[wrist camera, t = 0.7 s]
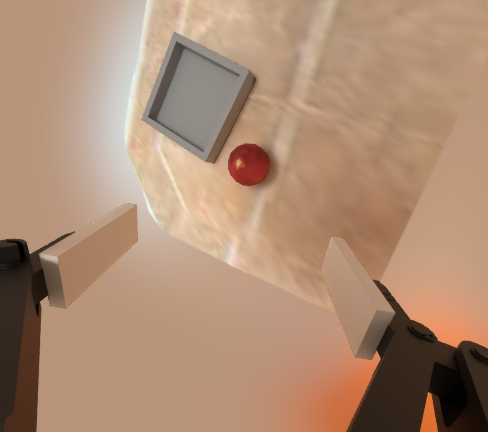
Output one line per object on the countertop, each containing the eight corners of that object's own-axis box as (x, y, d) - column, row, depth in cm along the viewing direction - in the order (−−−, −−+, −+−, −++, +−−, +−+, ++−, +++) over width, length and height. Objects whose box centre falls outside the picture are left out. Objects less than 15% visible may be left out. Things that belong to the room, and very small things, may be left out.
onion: (232, 165, 38) (208, 161, 31) (258, 139, 36) (239, 128, 29) (254, 192, 38) (235, 195, 30) (282, 167, 36) (269, 164, 28)
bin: (153, 123, 43) (141, 119, 40) (185, 42, 38) (174, 31, 36) (214, 162, 39) (205, 161, 37) (256, 79, 35) (249, 70, 32)
